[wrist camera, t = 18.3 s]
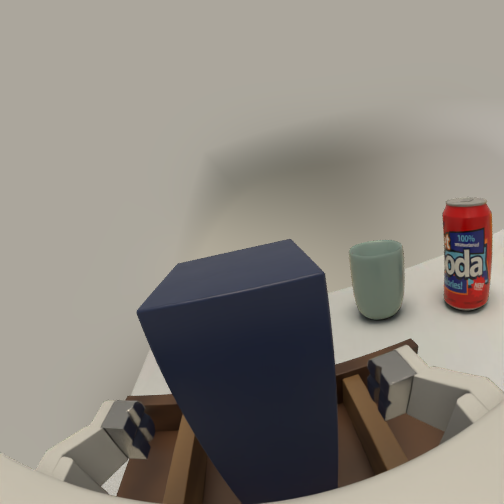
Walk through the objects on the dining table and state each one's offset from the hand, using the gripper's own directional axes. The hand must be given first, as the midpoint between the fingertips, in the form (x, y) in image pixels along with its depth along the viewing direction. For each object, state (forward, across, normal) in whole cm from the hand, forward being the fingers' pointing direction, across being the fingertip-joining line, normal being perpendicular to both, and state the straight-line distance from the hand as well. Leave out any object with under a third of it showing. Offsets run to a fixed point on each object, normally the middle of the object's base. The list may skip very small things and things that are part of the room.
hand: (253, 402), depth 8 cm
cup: (+26, -17, +14) cm, 34 cm away
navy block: (+2, 0, +9) cm, 9 cm away
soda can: (+20, -30, +14) cm, 39 cm away
